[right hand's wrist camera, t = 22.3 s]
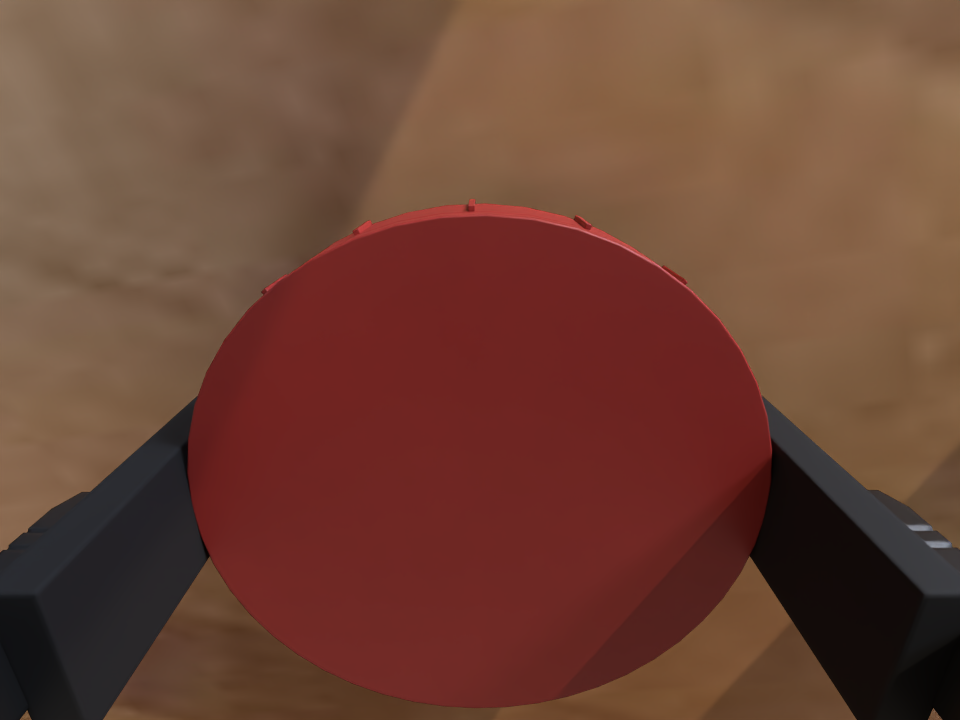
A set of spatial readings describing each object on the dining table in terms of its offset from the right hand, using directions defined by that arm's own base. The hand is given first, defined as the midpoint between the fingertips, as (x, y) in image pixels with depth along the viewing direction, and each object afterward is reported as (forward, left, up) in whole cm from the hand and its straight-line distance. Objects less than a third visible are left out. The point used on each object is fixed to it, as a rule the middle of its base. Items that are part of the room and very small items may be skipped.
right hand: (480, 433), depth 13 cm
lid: (0, 0, +3) cm, 3 cm away
